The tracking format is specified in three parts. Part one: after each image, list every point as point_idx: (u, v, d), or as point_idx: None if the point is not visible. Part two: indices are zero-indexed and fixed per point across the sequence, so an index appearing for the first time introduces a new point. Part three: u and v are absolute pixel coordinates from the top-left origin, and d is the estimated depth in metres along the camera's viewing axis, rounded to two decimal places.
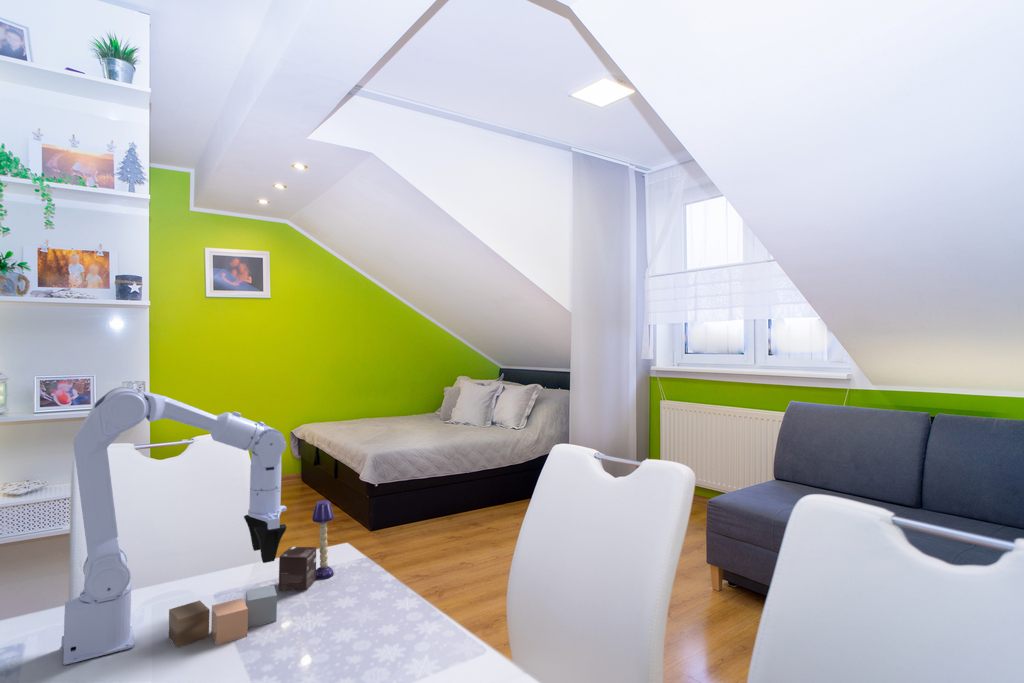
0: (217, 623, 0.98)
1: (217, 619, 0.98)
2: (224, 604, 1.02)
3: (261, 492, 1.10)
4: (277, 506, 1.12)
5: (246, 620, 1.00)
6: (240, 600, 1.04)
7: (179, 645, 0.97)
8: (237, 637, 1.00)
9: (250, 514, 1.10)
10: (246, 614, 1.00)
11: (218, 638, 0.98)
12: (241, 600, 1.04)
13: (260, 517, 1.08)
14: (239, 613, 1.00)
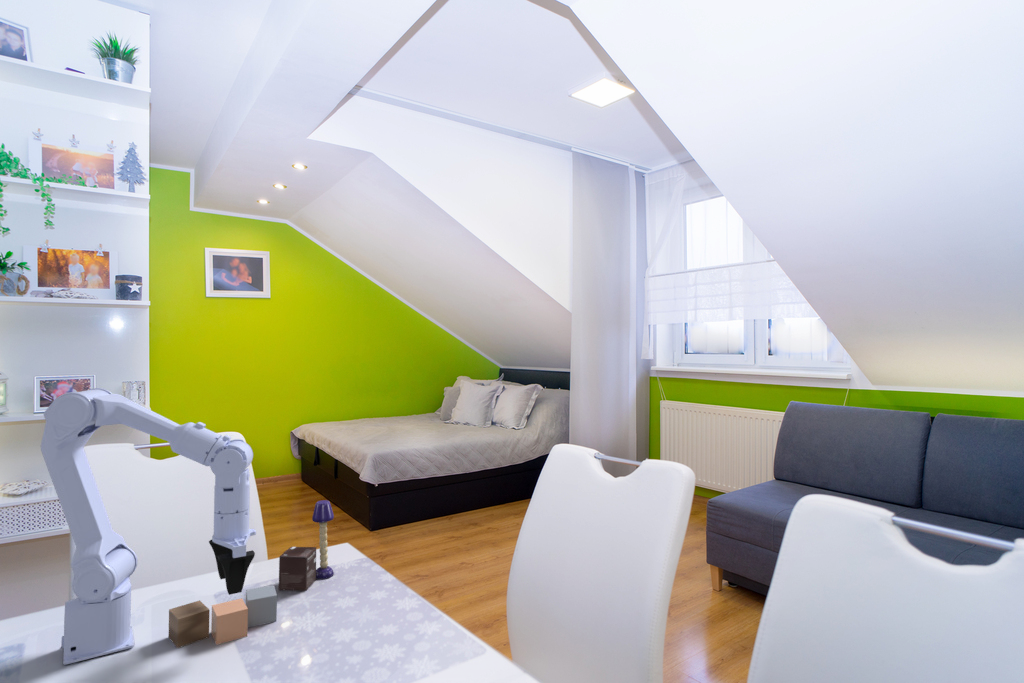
0: (217, 623, 0.98)
1: (217, 619, 0.98)
2: (224, 604, 1.02)
3: (226, 515, 0.98)
4: (245, 531, 1.00)
5: (246, 620, 1.00)
6: (240, 600, 1.04)
7: (179, 645, 0.97)
8: (237, 637, 1.00)
9: (214, 540, 0.99)
10: (246, 614, 1.00)
11: (218, 638, 0.98)
12: (241, 600, 1.04)
13: (225, 544, 0.97)
14: (239, 613, 1.00)
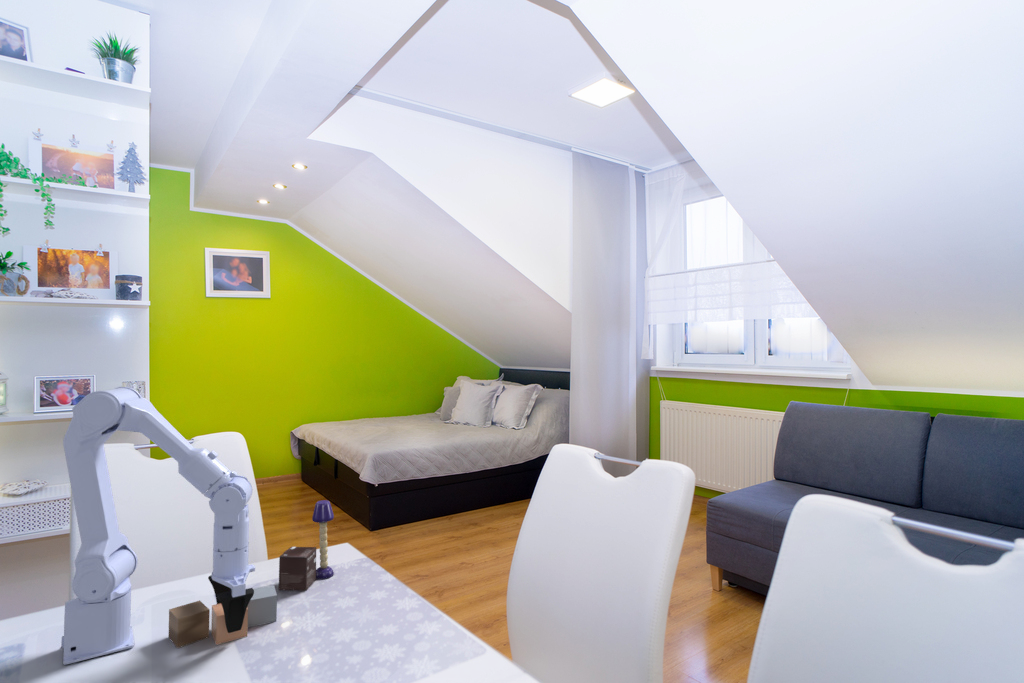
0: (217, 623, 0.98)
1: (217, 619, 0.98)
2: None
3: (225, 553, 0.98)
4: (244, 568, 1.00)
5: (246, 620, 1.00)
6: None
7: (179, 645, 0.97)
8: (237, 637, 1.00)
9: (213, 578, 0.99)
10: (246, 614, 1.01)
11: (218, 638, 0.98)
12: None
13: (224, 582, 0.97)
14: None
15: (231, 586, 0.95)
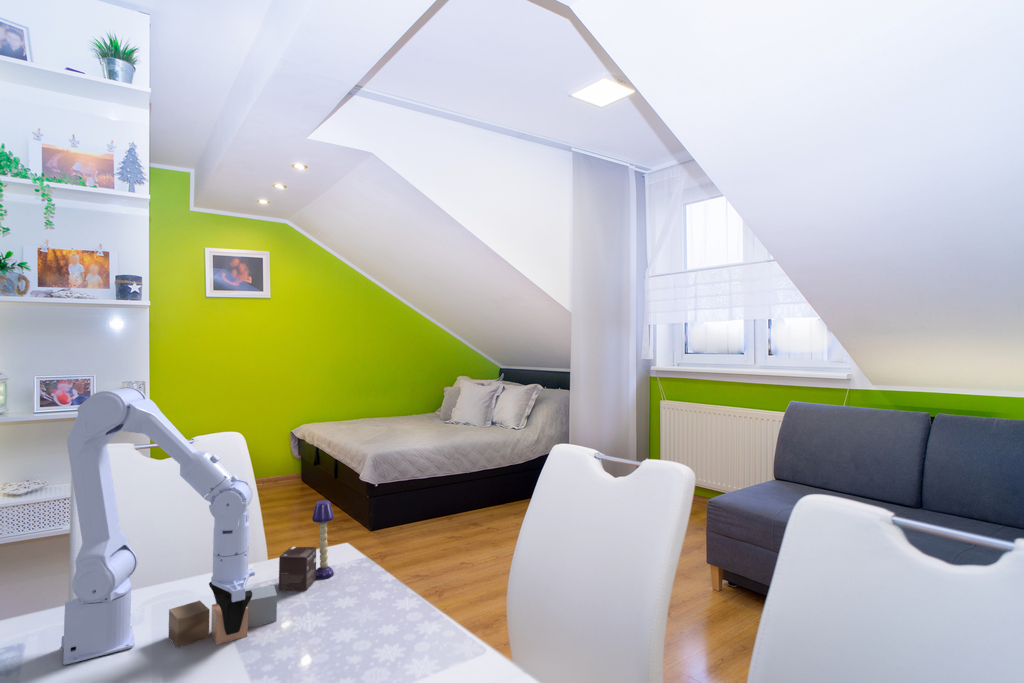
0: (217, 622, 0.98)
1: (217, 618, 0.98)
2: None
3: (225, 558, 0.98)
4: (244, 572, 1.00)
5: (246, 619, 1.01)
6: None
7: (179, 645, 0.97)
8: (237, 636, 1.00)
9: (213, 582, 0.99)
10: (246, 613, 1.01)
11: (218, 637, 0.98)
12: None
13: (224, 587, 0.97)
14: None
15: (231, 591, 0.95)
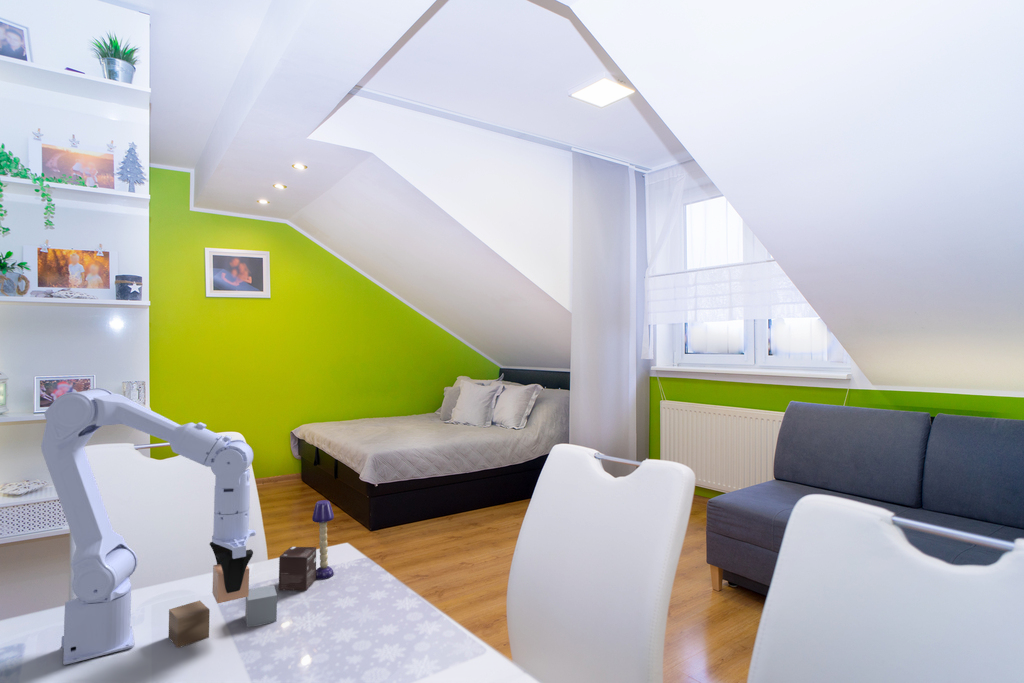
0: (218, 581, 0.98)
1: (218, 577, 0.98)
2: None
3: (226, 516, 0.98)
4: (244, 531, 1.00)
5: (247, 580, 1.01)
6: None
7: (179, 645, 0.97)
8: (238, 596, 1.00)
9: (214, 540, 0.99)
10: (247, 574, 1.01)
11: (219, 596, 0.98)
12: None
13: (224, 544, 0.97)
14: None
15: (232, 548, 0.95)
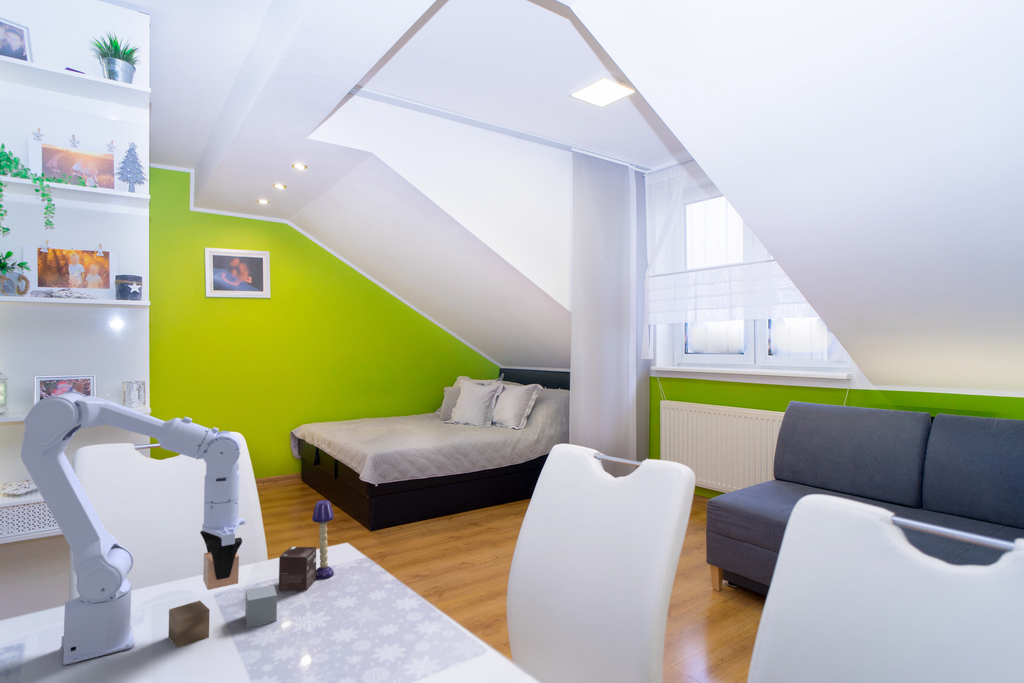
0: (209, 568, 1.00)
1: (209, 564, 1.00)
2: None
3: (216, 505, 1.01)
4: (234, 520, 1.03)
5: (237, 567, 1.03)
6: None
7: (179, 645, 0.97)
8: (228, 583, 1.02)
9: (204, 529, 1.01)
10: (237, 561, 1.03)
11: (209, 583, 1.00)
12: None
13: (214, 532, 0.99)
14: None
15: (221, 535, 0.98)
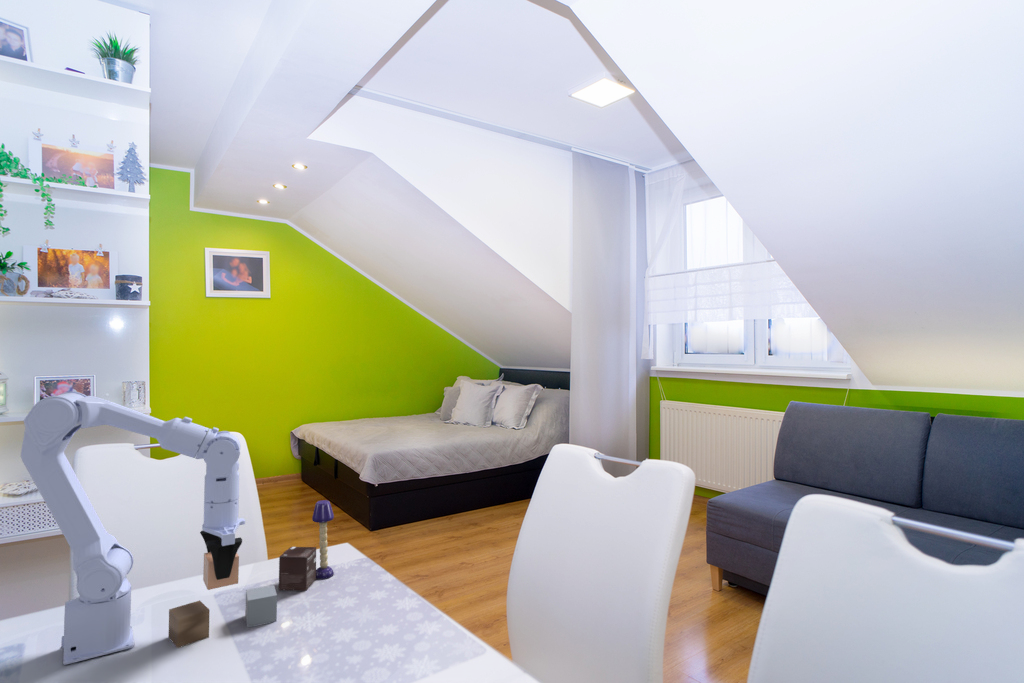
0: (209, 568, 1.00)
1: (209, 564, 1.00)
2: None
3: (216, 505, 1.01)
4: (234, 520, 1.03)
5: (237, 567, 1.03)
6: None
7: (179, 645, 0.97)
8: (228, 583, 1.02)
9: (204, 529, 1.01)
10: (237, 561, 1.03)
11: (209, 583, 1.00)
12: None
13: (214, 532, 0.99)
14: None
15: (221, 535, 0.98)
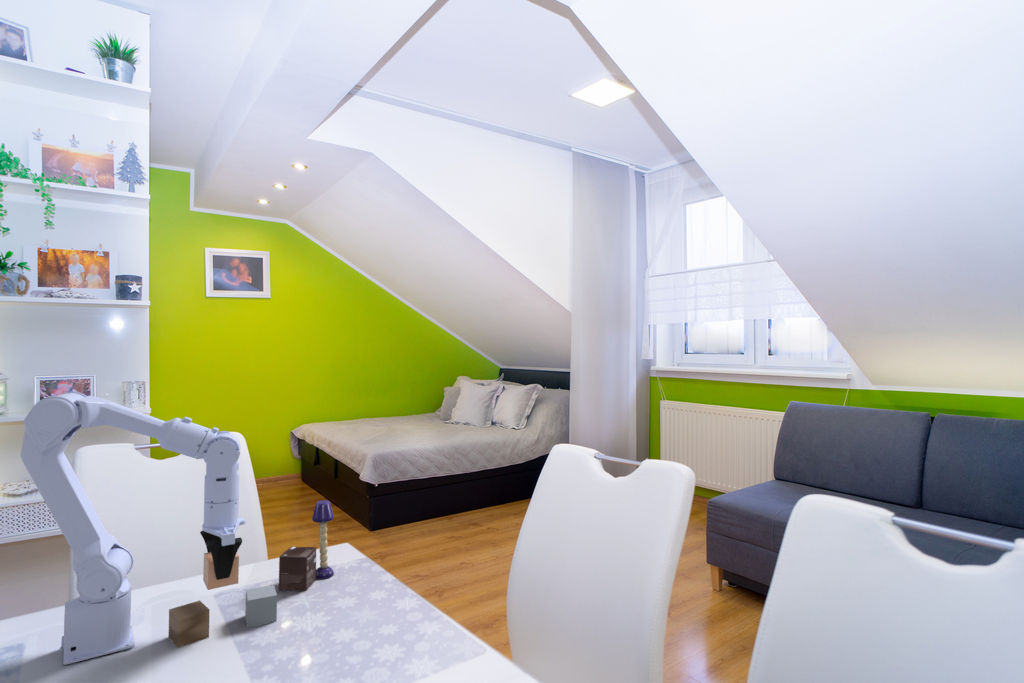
0: (209, 568, 1.00)
1: (209, 564, 1.00)
2: None
3: (216, 505, 1.01)
4: (234, 520, 1.03)
5: (237, 567, 1.03)
6: None
7: (179, 645, 0.97)
8: (228, 583, 1.02)
9: (204, 529, 1.01)
10: (237, 561, 1.03)
11: (209, 583, 1.00)
12: None
13: (214, 532, 0.99)
14: None
15: (221, 535, 0.98)
